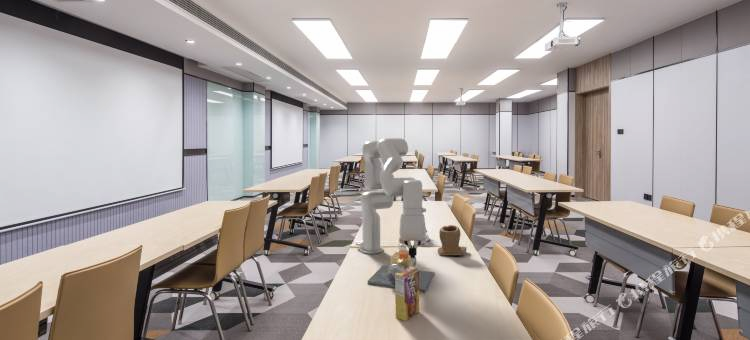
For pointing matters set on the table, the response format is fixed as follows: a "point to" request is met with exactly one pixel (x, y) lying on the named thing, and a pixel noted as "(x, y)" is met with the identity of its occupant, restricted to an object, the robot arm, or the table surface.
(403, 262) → the valve body
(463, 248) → the stone cup
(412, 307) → the candy box
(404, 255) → the valve lever
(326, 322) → the table surface
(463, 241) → the table surface
